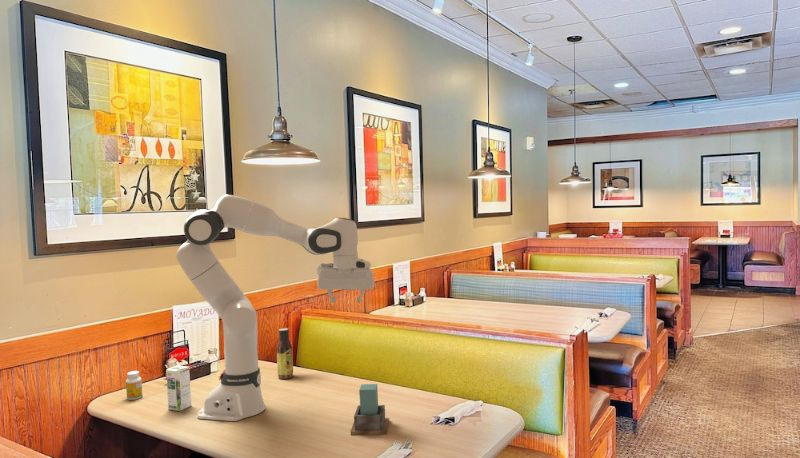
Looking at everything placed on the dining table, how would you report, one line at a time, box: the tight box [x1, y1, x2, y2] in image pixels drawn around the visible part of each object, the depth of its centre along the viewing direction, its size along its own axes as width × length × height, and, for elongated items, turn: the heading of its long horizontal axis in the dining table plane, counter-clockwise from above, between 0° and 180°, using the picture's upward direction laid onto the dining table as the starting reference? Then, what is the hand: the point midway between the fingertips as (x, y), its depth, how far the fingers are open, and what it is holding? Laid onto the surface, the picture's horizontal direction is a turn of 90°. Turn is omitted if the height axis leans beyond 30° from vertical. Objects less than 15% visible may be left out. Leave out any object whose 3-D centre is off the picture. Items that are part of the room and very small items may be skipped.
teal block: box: [358, 383, 379, 415], centre depth 171 cm, size 5×5×12 cm
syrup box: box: [165, 365, 192, 412], centre depth 196 cm, size 6×6×14 cm
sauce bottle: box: [276, 327, 294, 380], centre depth 224 cm, size 6×6×20 cm
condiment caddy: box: [350, 404, 390, 436], centre depth 171 cm, size 11×10×6 cm
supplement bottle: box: [125, 370, 144, 401], centre depth 208 cm, size 5×5×10 cm
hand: (346, 302), depth 195 cm, fingers open, 8 cm apart
